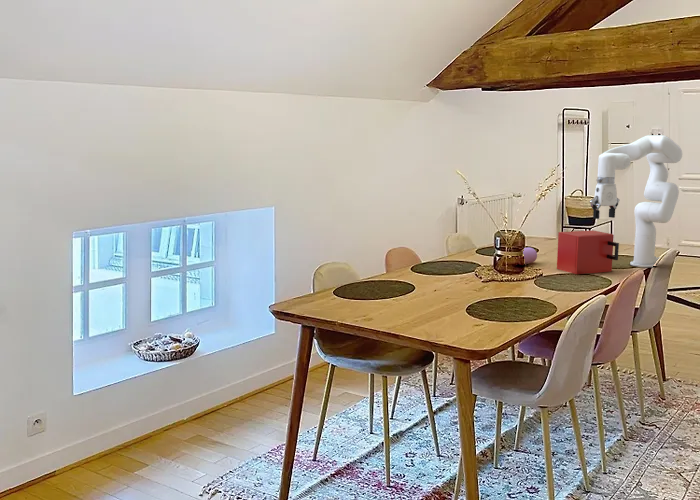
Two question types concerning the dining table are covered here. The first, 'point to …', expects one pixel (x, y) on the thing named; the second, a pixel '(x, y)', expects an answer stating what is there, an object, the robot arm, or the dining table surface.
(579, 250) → the door
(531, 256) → the toy
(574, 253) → the cabinet
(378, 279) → the dining table surface
